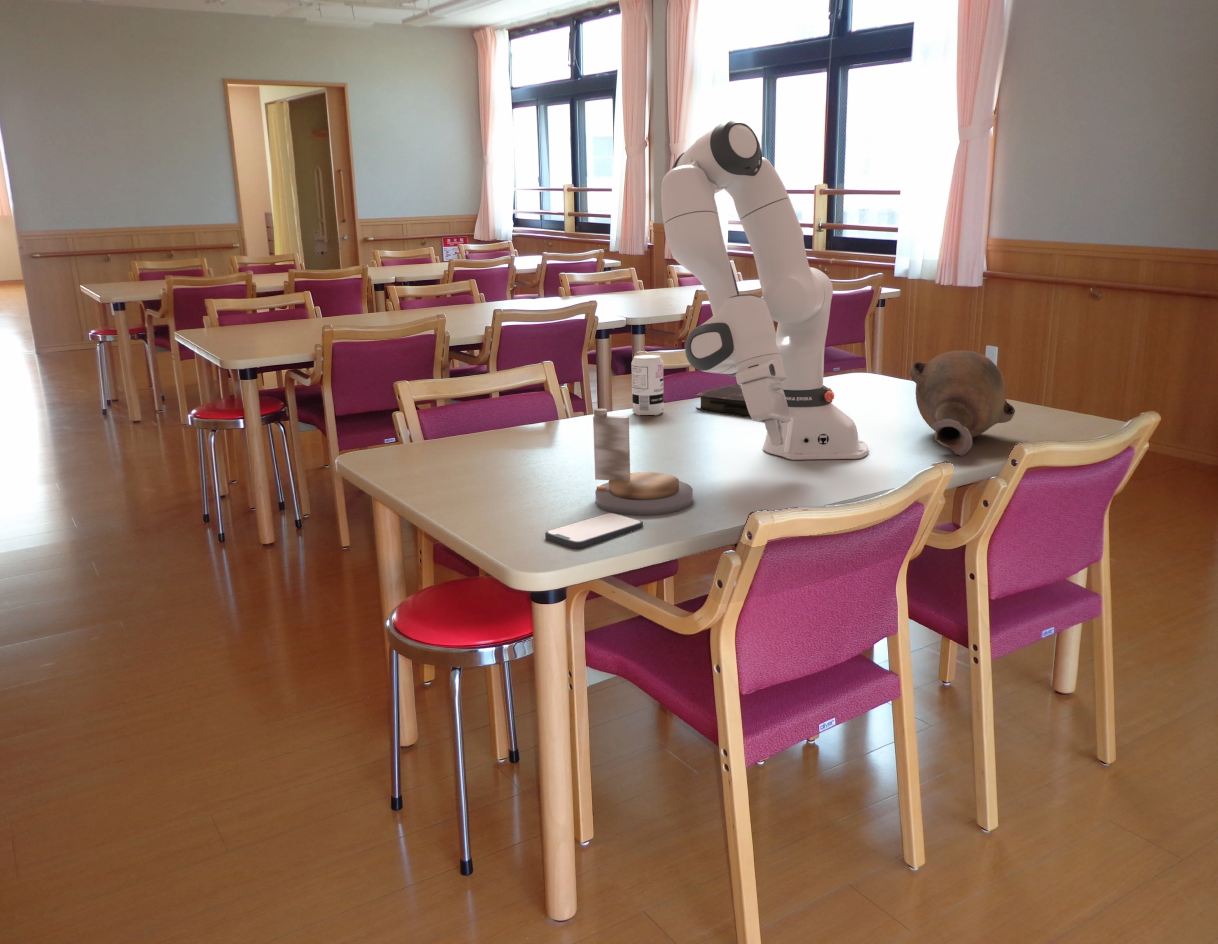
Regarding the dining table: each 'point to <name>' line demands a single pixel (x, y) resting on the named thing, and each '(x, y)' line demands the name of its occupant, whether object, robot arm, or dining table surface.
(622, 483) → the dial
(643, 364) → the supplement can
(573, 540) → the smartphone
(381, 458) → the dining table surface
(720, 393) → the diary
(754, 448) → the dining table surface
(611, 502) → the dial base
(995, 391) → the jug
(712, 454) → the dining table surface
